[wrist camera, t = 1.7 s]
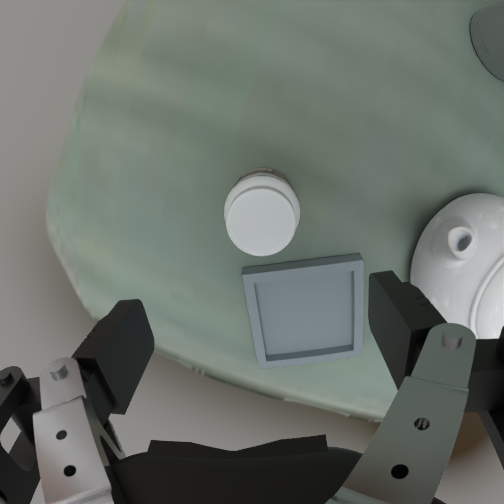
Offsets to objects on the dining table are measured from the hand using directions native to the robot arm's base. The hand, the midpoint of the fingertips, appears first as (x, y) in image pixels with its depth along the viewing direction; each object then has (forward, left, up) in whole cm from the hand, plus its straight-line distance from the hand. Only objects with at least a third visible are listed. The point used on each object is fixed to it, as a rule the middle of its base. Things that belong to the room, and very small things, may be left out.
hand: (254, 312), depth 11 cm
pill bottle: (0, 0, -21) cm, 21 cm away
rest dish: (-3, +13, -21) cm, 25 cm away
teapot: (-23, +10, -21) cm, 33 cm away
